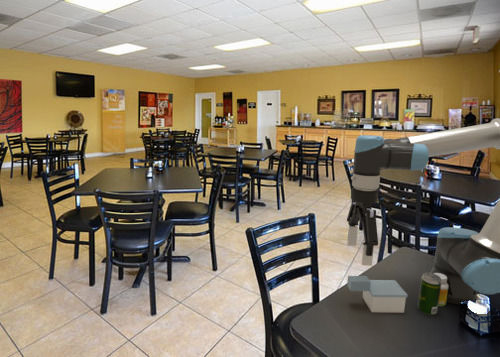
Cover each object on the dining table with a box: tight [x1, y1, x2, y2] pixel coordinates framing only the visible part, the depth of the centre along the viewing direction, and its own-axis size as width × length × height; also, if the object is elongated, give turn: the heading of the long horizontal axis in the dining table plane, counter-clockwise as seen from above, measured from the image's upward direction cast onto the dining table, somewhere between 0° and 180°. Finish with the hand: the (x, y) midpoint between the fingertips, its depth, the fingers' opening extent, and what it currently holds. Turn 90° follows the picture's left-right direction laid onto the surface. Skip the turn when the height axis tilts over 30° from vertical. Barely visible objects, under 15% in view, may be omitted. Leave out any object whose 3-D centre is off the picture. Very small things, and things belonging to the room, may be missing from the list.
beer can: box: [417, 272, 441, 316], centre depth 97 cm, size 5×5×12 cm
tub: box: [362, 291, 407, 314], centre depth 100 cm, size 10×8×6 cm
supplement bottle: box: [434, 273, 449, 307], centre depth 102 cm, size 5×5×10 cm
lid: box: [346, 275, 408, 298], centre depth 99 cm, size 17×9×4 cm, turn 90°
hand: (358, 254), depth 97 cm, fingers open, 13 cm apart
